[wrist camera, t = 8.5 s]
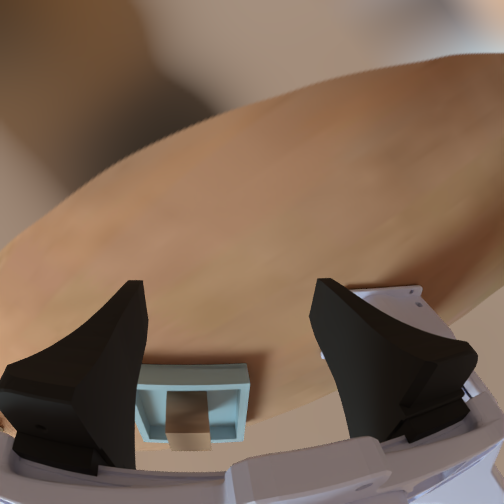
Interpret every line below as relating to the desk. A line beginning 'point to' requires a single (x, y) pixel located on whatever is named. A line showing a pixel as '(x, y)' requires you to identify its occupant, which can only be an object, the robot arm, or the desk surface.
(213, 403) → the tray
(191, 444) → the walnut block
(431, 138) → the desk surface
